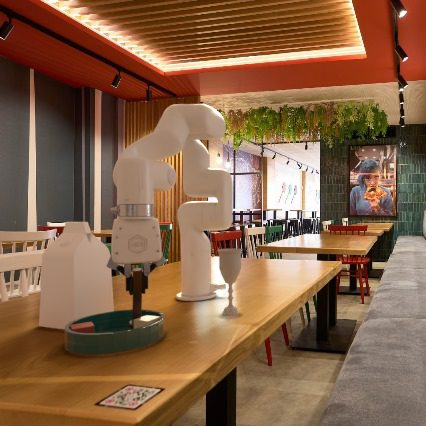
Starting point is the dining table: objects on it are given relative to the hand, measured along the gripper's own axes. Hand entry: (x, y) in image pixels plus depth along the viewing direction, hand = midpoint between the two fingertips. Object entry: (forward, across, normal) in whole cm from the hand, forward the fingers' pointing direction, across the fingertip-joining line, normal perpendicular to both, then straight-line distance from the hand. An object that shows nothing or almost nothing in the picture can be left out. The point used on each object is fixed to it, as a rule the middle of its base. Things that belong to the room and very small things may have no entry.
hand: (137, 292), depth 90 cm
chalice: (+10, +24, +7) cm, 27 cm away
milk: (+10, -12, +19) cm, 25 cm away
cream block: (+10, +2, -2) cm, 10 cm away
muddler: (+8, 0, +2) cm, 8 cm away
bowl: (+10, -4, 0) cm, 11 cm away
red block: (+10, -11, -1) cm, 14 cm away
